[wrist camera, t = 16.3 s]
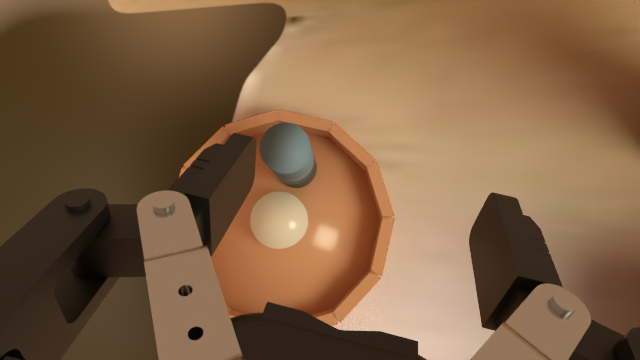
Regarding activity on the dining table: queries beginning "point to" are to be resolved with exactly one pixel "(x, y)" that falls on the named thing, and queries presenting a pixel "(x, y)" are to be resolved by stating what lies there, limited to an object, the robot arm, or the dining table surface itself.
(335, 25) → the dining table surface
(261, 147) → the bead peg
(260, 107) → the dining table surface
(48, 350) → the robot arm
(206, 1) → the dining table surface
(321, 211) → the ring tray
